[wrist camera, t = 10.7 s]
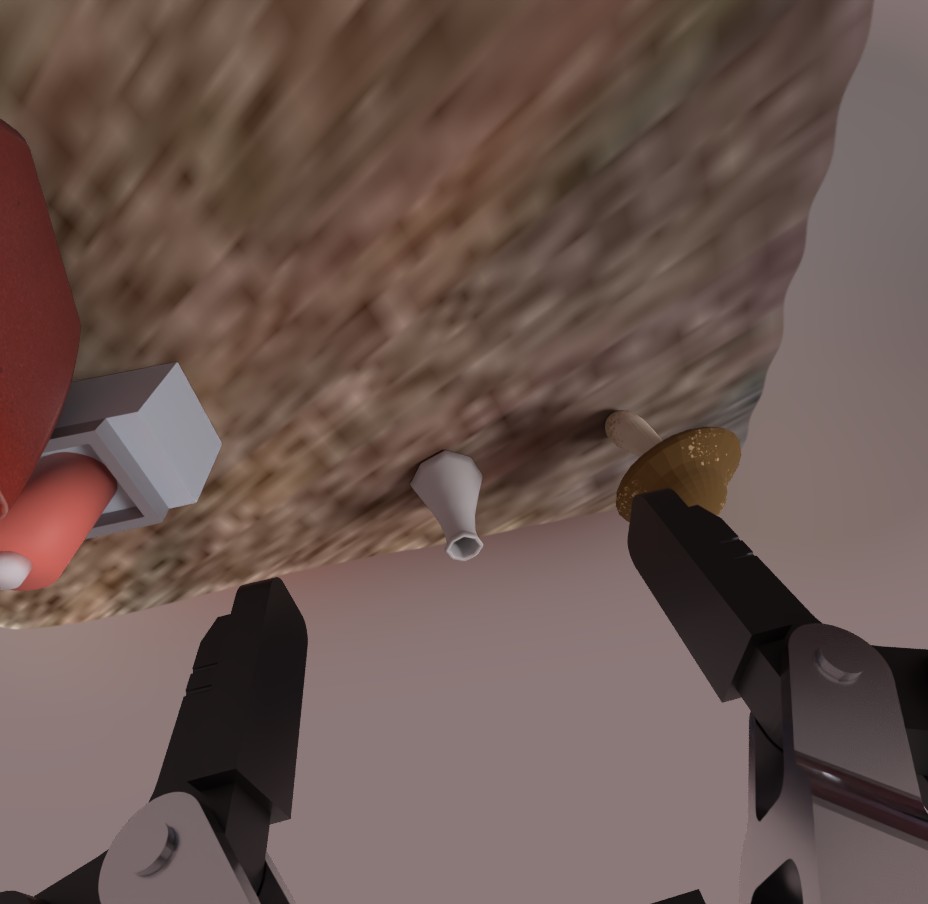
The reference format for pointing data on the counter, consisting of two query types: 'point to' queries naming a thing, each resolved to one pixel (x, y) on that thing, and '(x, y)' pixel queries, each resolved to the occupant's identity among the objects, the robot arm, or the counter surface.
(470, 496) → the flask
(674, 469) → the mushroom
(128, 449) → the grey box device
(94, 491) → the pink cylinder white tip
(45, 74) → the counter surface
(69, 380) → the plant pot
